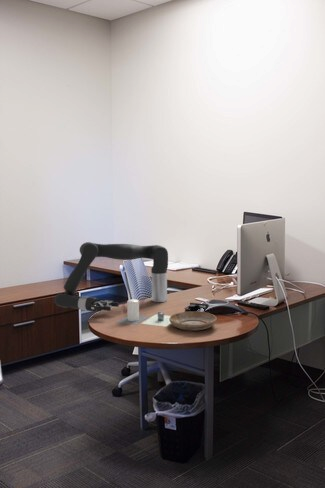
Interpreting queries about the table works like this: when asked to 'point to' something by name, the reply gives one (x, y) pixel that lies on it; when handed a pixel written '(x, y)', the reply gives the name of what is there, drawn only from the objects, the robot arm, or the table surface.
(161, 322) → the board
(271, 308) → the table surface
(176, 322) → the ceramic bowl
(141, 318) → the mat
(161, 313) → the peg
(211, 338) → the table surface
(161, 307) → the table surface
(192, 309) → the end cap
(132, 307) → the white lidded canister
